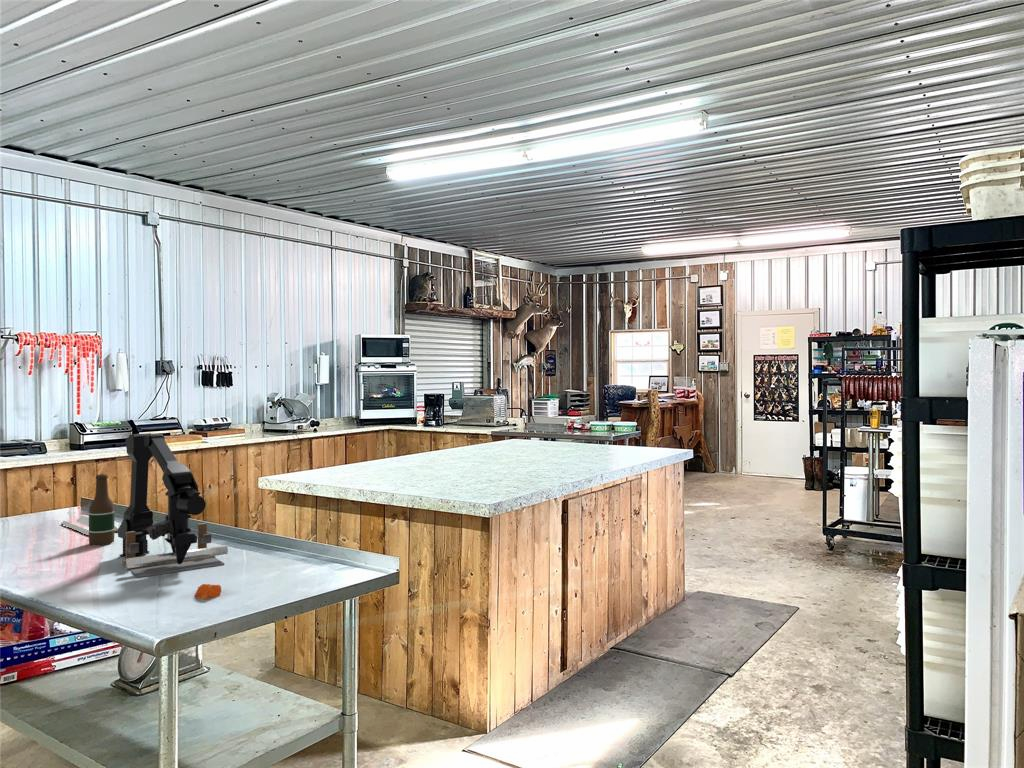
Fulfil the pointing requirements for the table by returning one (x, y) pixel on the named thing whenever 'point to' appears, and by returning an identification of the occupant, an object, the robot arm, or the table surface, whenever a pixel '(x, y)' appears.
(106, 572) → the table surface
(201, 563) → the rubber mat
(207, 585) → the rock
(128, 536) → the hook stand
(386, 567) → the table surface
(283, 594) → the table surface
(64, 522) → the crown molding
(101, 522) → the beer bottle
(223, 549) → the steel rail
